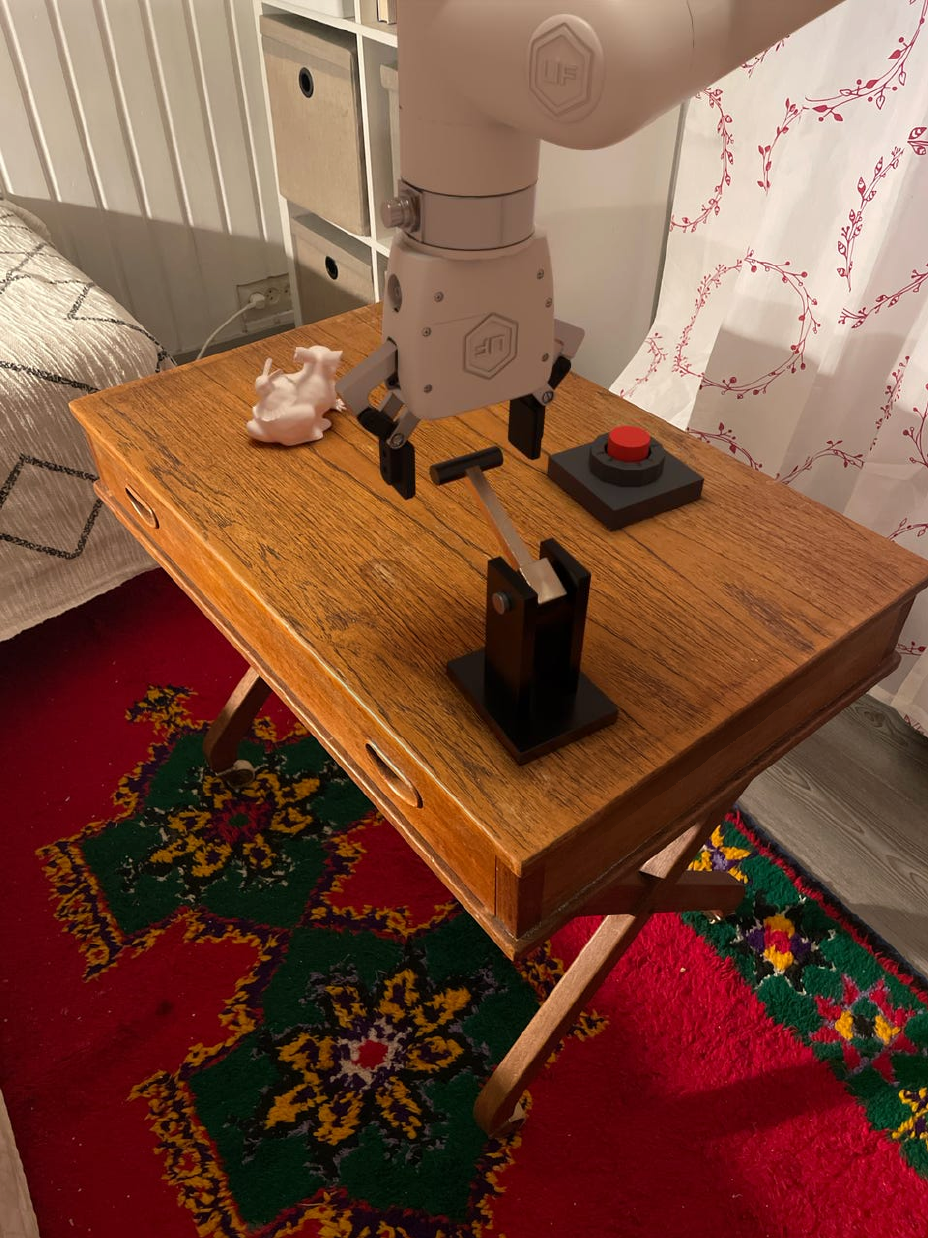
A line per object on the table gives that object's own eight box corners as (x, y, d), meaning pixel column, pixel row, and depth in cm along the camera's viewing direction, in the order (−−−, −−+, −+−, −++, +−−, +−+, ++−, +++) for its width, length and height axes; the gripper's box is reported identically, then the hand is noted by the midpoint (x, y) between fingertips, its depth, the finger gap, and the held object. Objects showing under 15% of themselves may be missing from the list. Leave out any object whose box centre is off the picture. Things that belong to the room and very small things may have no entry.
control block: (632, 447, 94) (637, 410, 91) (700, 498, 87) (708, 460, 85) (546, 475, 90) (549, 438, 87) (611, 531, 83) (616, 492, 81)
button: (630, 438, 88) (633, 421, 87) (655, 457, 86) (658, 440, 85) (598, 449, 87) (601, 432, 86) (623, 468, 84) (625, 450, 83)
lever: (425, 477, 65) (432, 456, 63) (489, 457, 67) (497, 436, 65) (510, 628, 62) (520, 611, 60) (574, 602, 64) (586, 585, 61)
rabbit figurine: (344, 399, 100) (337, 310, 94) (382, 431, 96) (377, 339, 89) (237, 433, 95) (222, 340, 89) (272, 468, 90) (258, 373, 84)
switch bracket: (445, 673, 70) (444, 544, 62) (537, 636, 73) (547, 508, 66) (520, 766, 64) (529, 634, 56) (617, 721, 67) (639, 590, 59)
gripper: (357, 260, 48) (373, 536, 60) (633, 204, 55) (599, 462, 66) (298, 213, 53) (323, 476, 64) (558, 167, 60) (539, 413, 71)
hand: (463, 468), depth 65 cm, fingers open, 9 cm apart
